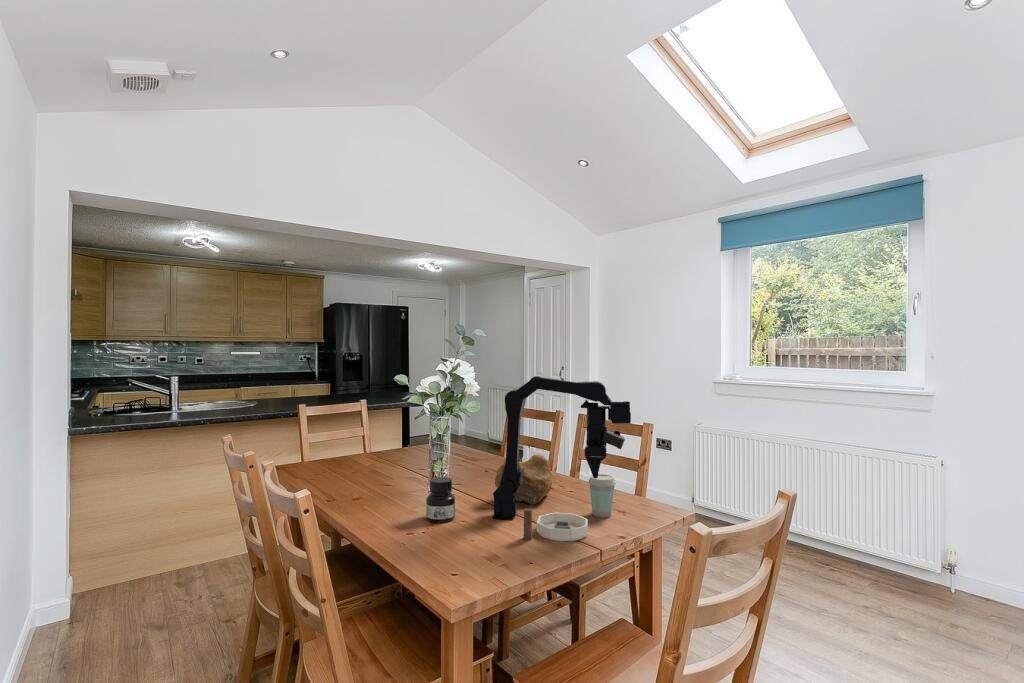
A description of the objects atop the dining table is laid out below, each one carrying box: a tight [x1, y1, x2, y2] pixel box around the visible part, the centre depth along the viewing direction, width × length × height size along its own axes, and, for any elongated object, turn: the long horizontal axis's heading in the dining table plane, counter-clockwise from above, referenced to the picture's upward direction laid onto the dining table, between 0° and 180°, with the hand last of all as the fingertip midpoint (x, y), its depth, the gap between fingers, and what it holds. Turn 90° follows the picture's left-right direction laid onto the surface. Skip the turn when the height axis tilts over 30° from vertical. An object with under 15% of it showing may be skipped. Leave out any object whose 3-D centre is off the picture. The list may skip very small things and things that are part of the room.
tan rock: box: [494, 453, 553, 506], centre depth 178 cm, size 23×17×15 cm
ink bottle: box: [425, 476, 456, 523], centre depth 158 cm, size 10×9×12 cm
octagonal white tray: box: [536, 511, 589, 542], centre depth 147 cm, size 14×14×3 cm
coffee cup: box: [587, 473, 616, 518], centre depth 162 cm, size 8×9×12 cm
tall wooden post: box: [523, 507, 533, 541], centre depth 141 cm, size 2×2×8 cm
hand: (595, 474), depth 155 cm, fingers open, 9 cm apart
